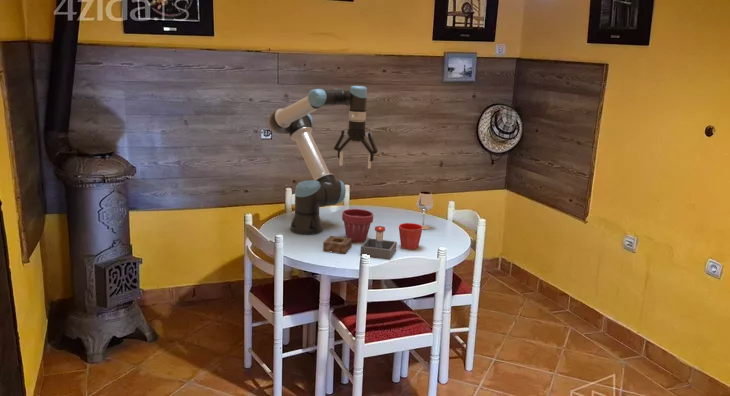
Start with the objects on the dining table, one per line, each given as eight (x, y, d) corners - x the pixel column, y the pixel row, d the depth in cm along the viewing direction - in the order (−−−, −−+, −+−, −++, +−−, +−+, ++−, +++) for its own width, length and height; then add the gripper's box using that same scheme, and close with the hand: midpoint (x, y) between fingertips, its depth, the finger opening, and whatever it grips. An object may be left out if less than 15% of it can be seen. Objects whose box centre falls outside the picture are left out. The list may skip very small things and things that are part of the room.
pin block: (323, 250, 263) (323, 242, 262) (330, 244, 272) (330, 235, 271) (345, 253, 261) (345, 245, 260) (351, 247, 270) (352, 238, 269)
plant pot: (376, 237, 285) (377, 211, 282) (365, 245, 273) (366, 218, 270) (348, 232, 291) (349, 207, 288) (336, 240, 278) (337, 213, 275)
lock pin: (372, 252, 263) (373, 228, 260) (374, 249, 267) (376, 225, 264) (382, 254, 261) (383, 229, 259) (384, 251, 266) (386, 226, 263)
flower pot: (392, 245, 275) (393, 225, 272) (408, 241, 282) (409, 221, 280) (409, 252, 268) (411, 231, 265) (426, 247, 275) (427, 226, 273)
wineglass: (430, 230, 301) (433, 195, 297) (413, 228, 303) (416, 193, 298) (431, 226, 309) (434, 191, 305) (415, 224, 310) (418, 190, 306)
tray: (360, 255, 260) (360, 246, 259) (367, 246, 272) (368, 238, 271) (389, 259, 257) (390, 250, 256) (396, 250, 269) (396, 241, 268)
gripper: (328, 119, 275) (326, 165, 280) (382, 123, 269) (379, 170, 274) (333, 117, 282) (331, 162, 287) (385, 122, 276) (383, 167, 281)
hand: (355, 166), depth 280 cm, fingers open, 13 cm apart
